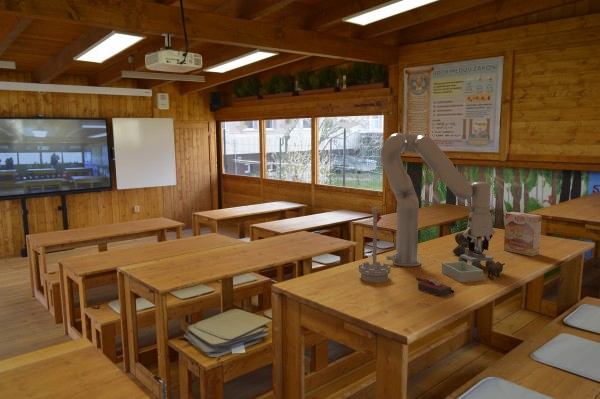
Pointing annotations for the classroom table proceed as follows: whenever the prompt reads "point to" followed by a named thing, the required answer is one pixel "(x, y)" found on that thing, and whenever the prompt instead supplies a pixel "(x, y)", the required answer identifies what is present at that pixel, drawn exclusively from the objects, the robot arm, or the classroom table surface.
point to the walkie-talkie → (434, 287)
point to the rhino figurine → (494, 270)
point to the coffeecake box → (522, 233)
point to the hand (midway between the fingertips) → (478, 249)
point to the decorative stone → (463, 244)
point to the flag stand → (374, 258)
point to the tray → (462, 271)
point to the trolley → (476, 258)
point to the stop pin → (478, 245)
